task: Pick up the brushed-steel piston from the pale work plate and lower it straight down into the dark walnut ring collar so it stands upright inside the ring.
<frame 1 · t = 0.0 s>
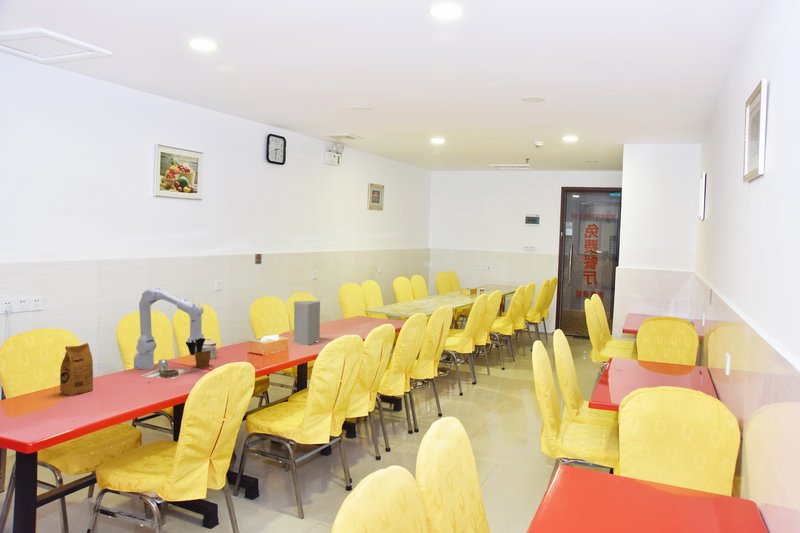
hand: (195, 353, 307), 10 cm above the table, tool pointing down, fingers open, 7 cm apart
grey block: (304, 343, 396), on the table
piston: (163, 371, 304), point 1 cm above the table, touching work plate
teacup with lid: (210, 358, 343), on the table
disposable coffee cup: (202, 368, 318), on the table
coffee package: (76, 392, 267), on the table
work plate: (165, 375, 300), on the table
ring collar: (169, 377, 296), resting on work plate
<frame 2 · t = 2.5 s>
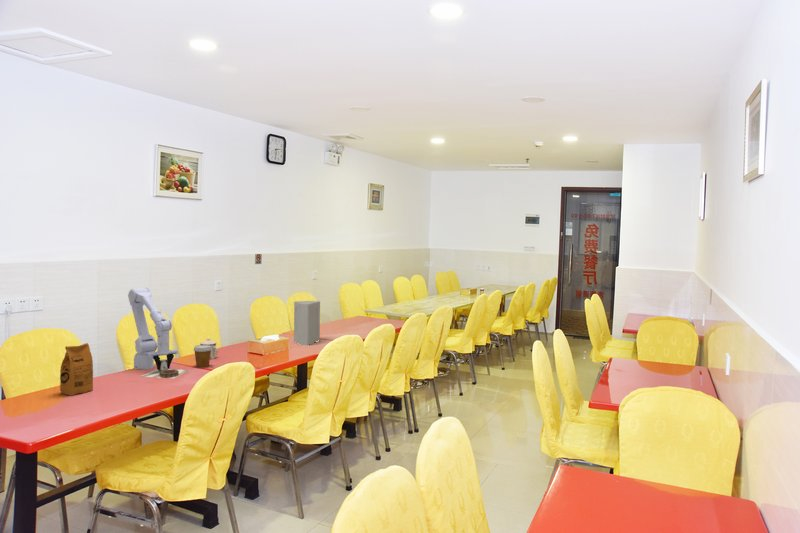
hand: (163, 369, 304), 2 cm above the table, tool pointing down, fingers closed on piston, 4 cm apart
piston: (163, 371, 304), point 1 cm above the table, touching gripper, work plate
everything else where it was.
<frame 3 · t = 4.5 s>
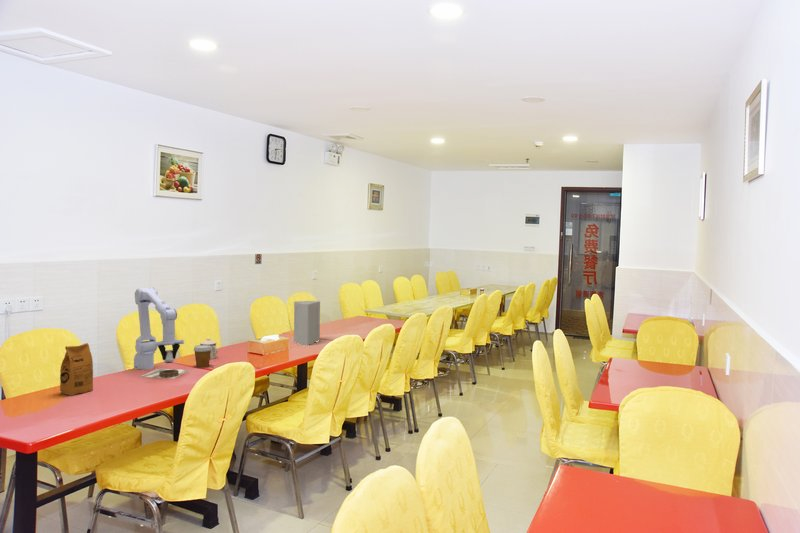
hand: (168, 359, 296), 9 cm above the table, tool pointing down, fingers closed on piston, 4 cm apart
piston: (168, 362, 296), point 8 cm above the table, touching gripper
everything else where it was.
when the fingers open (4 cm above the table, at t = 6.7 s): piston drops 1 cm, resting on work plate.
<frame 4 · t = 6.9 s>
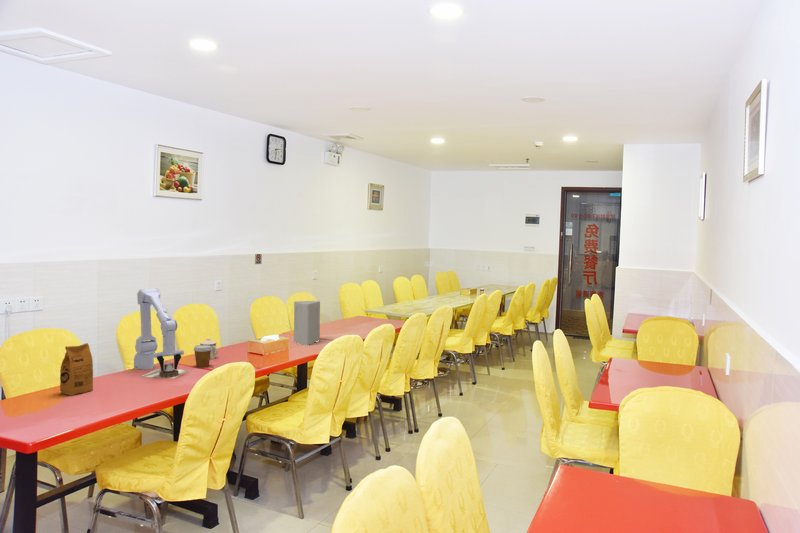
hand: (169, 369, 296), 4 cm above the table, tool pointing down, fingers open, 6 cm apart
piston: (169, 375, 296), point 1 cm above the table, touching work plate
everything else where it was.
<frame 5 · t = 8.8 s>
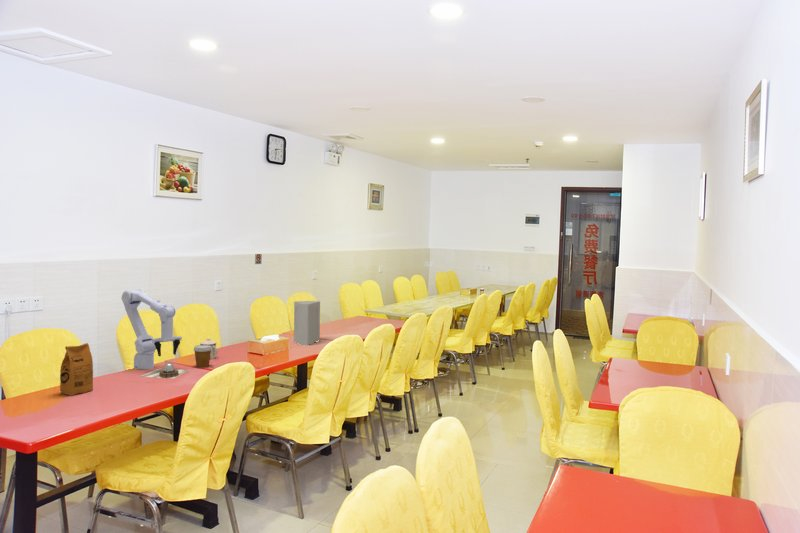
hand: (167, 355, 305), 9 cm above the table, tool pointing down, fingers open, 7 cm apart
nothing on the table moved.
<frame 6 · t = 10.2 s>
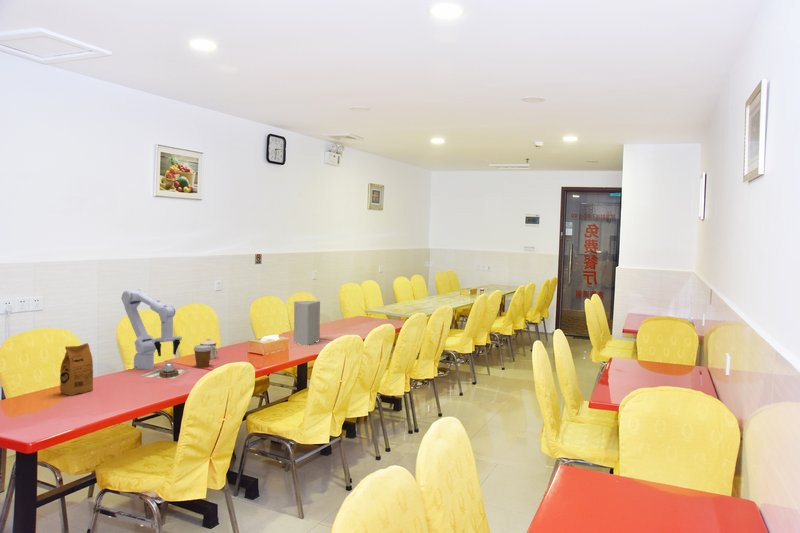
hand: (167, 355, 305), 9 cm above the table, tool pointing down, fingers open, 7 cm apart
nothing on the table moved.
at the end: piston 0.1 cm off-centre on the ring collar, point 1.0 cm above the ring collar's base; piston tilted 1°; the gripper is holding nothing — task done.
